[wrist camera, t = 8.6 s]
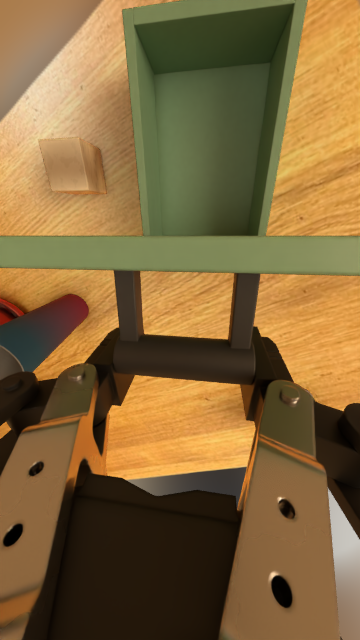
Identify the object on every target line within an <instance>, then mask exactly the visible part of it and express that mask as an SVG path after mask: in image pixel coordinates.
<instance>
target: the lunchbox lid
mask: <svg viewBox="0 0 360 640" xmlns="http://www.w3.org/2000/svg"><path fill="white" fill-rule="evenodd" d="M0 268H33V269H77V270H114V276H115V287H116V297H117V308H118V319H119V329H120V336H119V337H118V339H117V341H116V344H115V347H114V352H113V364H114V368H115V371H116V372H117V373H119V374H130V375H141V376H152V377H163V378H174V379H185V380H196V381H207V382H219V383H230V384H241V385H251V384H252V383H253V380H254V376H255V367H256V358H255V350H254V346H253V343H252V342H251V339H252V332H253V325H254V317H255V310H256V303H257V295H258V288H259V281H260V274H297V275H342V276H360V236H0ZM140 271H165V272H209V273H234V283H233V294H232V304H231V315H230V325H229V336H228V340H226V339H211V338H195V337H179V336H163V335H148V334H143V318H142V299H141V280H140Z"/></svg>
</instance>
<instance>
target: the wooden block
mask: <svg viewBox="0 0 360 640" xmlns="http://www.w3.org/2000/svg"><path fill="white" fill-rule="evenodd" d="M38 142H39V145H40V149H41V153H42V156H43V160H44V164H45V168H46V171H47V175H48V179H49V182H50V186H51V190H52V191H53V192H60V193H68V194H106V193H107V191H106V185H105V179H104V173H103V166H102V160H101V154H100V149H98V148H97V147H95V146H93V145H91V144H89V143H88V142H86V141H84V140H82V139H81V138H79V137H72V138H57V139H42V140H38Z"/></svg>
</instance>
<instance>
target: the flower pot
mask: <svg viewBox="0 0 360 640" xmlns="http://www.w3.org/2000/svg"><path fill="white" fill-rule="evenodd" d="M22 315H24V313H23V312H22V311H21V310H20V309H19V308H17V307H16V306H15V305H13V304H11V303H10V302H8V301H6V300H3V299H0V325H3V324H5V323H7V322H9V321H11V320H13V319H15V318H18V317H20V316H22Z"/></svg>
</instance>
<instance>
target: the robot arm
mask: <svg viewBox="0 0 360 640" xmlns="http://www.w3.org/2000/svg"><path fill="white" fill-rule="evenodd" d="M143 334H144V330H143ZM119 336H120V329H119V328H116V329H114V330H113V331H111V332H110V333H108V335H107V336H106V337H105V338H104V340H103V341H102V342H101V343H100V345H99V346H98V347H97V348H96V349H95V350H94V352H93V353H92V354H91V355H90V357H89V358H88V359H87V360H86V361H85V363H82V364H77V365H74V366H71V367H69V368H67V369H66V370H64V371H63V372H62V373H61V374H60V375H59V376H58V378H55V379H49V380H43V381H38V380H37V378H36V376H35V374H34V373H32V372H29V371H23V372H18V373H14V374H12V375H9V376H7V377H5V378H3V379H2V380H0V426H1V425H2V424H3V423H5V422H7V423H8V425H9V426H10V428H11V429H12V430H10V431H9V432H8V433H7V434H6V435H5V436H3V437H2V438H1V439H0V640H342V638H341V637H340V632H339V620H338V608H337V596H336V584H335V572H334V560H333V548H332V535H331V523H330V511H329V499H328V488H329V490H330V491H331V493H332V495H333V496H334V498H335V500H336V501H337V503H338V504H339V506H340V508H341V509H342V511H343V513H344V514H345V516H346V518H347V519H348V521H349V523H350V524H351V526H352V527H353V529H354V531H355V532H356V534H357V535H358V537H359V539H360V404H359V403H353V404H349V405H348V406H346V408H345V409H344V411H340V410H337V409H334V408H331V407H328V406H325V405H322V404H320V403H317V402H315V401H313V399H312V397H311V395H310V394H309V393H308V392H307V391H306V390H305V389H304V388H302V387H301V386H299V385H298V384H296V383H294V382H293V380H292V377H291V375H290V373H289V371H288V369H287V367H286V365H285V363H284V361H283V359H282V357H281V354H280V353H279V350H278V348H277V346H276V344H275V343H274V342H273V341H272V340H270V339H269V338H268V337H261V335H260V333H259V330H258V328H257V327H254V326H253V332H252V339H251V342H252V343H253V346H254V350H255V358H256V367H255V376H254V380H253V383H252V384H251V385H241V384H240V386H241V392H242V398H243V404H244V410H245V416H246V420H249V421H254V422H255V427H256V430H255V434H254V438H253V442H252V447H251V451H250V456H249V461H248V465H247V470H246V474H245V479H244V483H243V487H242V491H241V495H240V499H239V503H238V508H237V507H236V496H232V495H226V494H219V493H212V492H207V491H200V490H193V491H187V492H182V493H175V494H169V495H163V496H154V495H152V494H150V493H148V492H146V491H145V490H143V489H141V488H139V487H137V486H135V485H134V484H131V483H130V482H128V481H126V480H124V479H123V478H118V477H112V476H107V469H106V455H107V443H108V431H109V419H110V415H109V410H110V408H111V406H112V405H118V406H121V404H122V402H123V400H124V398H125V396H126V393H127V391H128V389H129V387H130V385H131V383H132V380H133V378H134V376H135V375H130V374H119V373H117V372H116V371H115V368H114V364H113V352H114V347H115V344H116V341H117V339H118V337H119Z"/></svg>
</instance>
